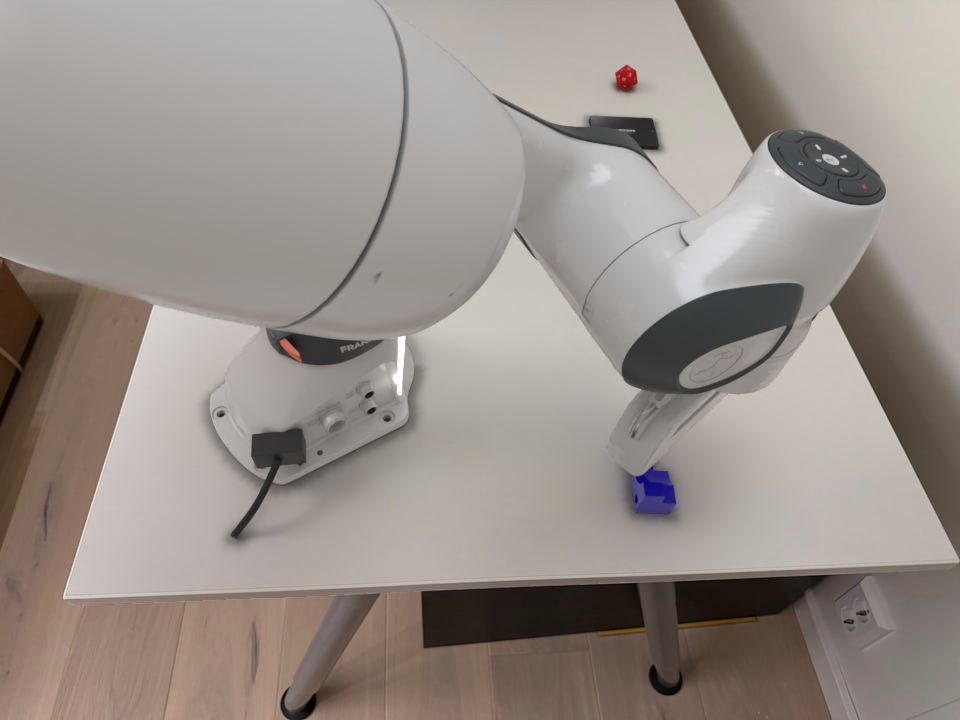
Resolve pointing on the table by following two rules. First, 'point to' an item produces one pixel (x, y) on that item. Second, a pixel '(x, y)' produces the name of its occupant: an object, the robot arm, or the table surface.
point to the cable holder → (653, 492)
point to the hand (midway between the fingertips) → (678, 425)
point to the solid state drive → (630, 128)
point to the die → (626, 77)
